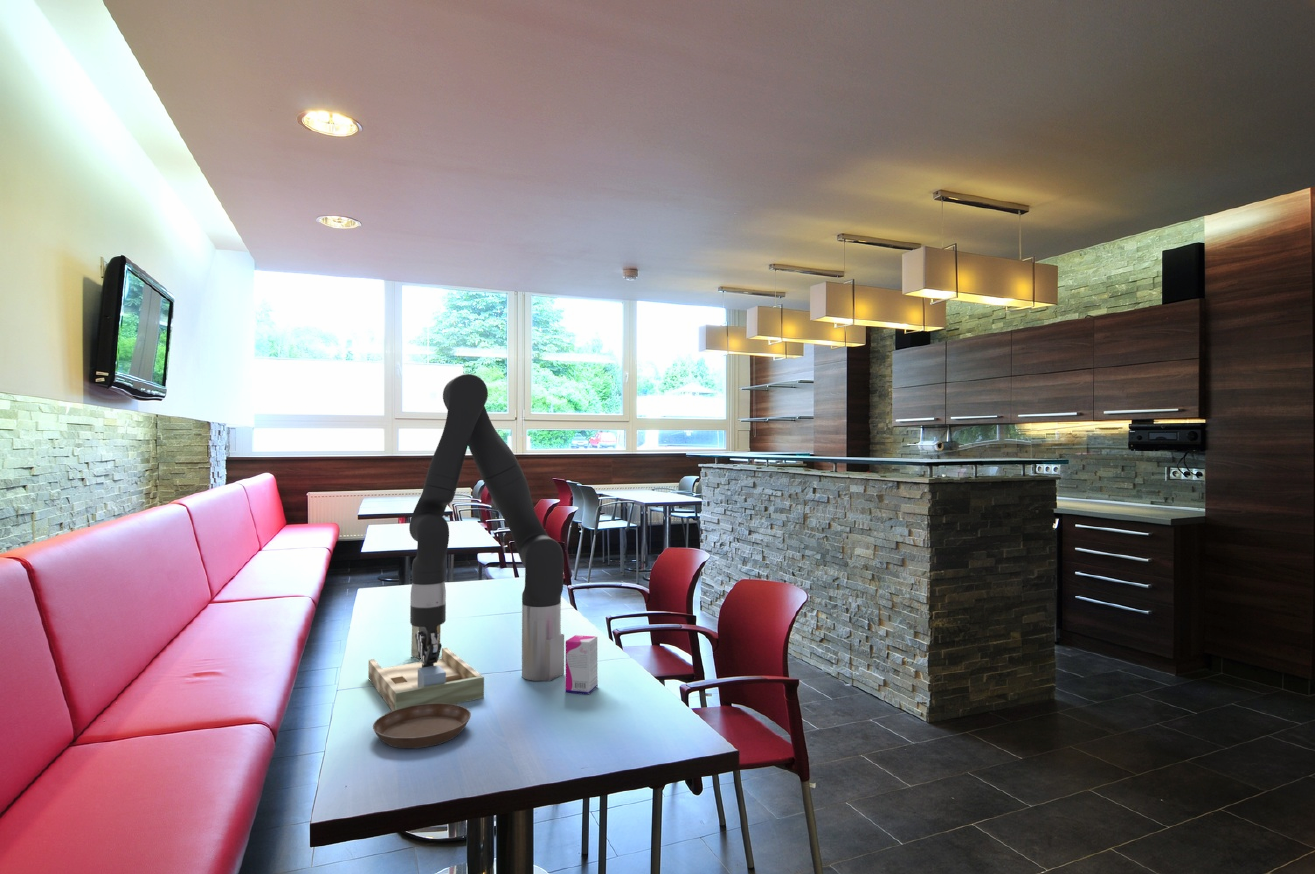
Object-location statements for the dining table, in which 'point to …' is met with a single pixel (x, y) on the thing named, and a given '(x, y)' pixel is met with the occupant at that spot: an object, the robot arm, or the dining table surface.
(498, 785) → the dining table surface
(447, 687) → the channel
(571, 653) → the supplement box
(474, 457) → the robot arm
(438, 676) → the block
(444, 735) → the plant saucer
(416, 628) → the skincare box
